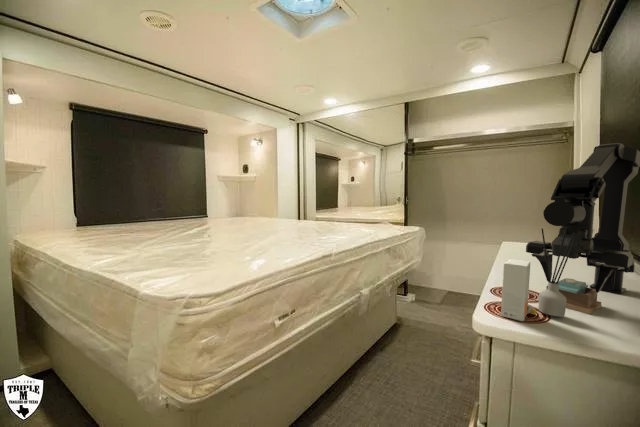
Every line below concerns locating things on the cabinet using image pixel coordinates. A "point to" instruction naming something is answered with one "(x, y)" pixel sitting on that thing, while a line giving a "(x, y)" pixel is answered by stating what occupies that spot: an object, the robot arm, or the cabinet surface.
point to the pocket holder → (582, 300)
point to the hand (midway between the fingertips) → (571, 286)
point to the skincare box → (515, 289)
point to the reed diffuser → (553, 287)
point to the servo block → (572, 286)
